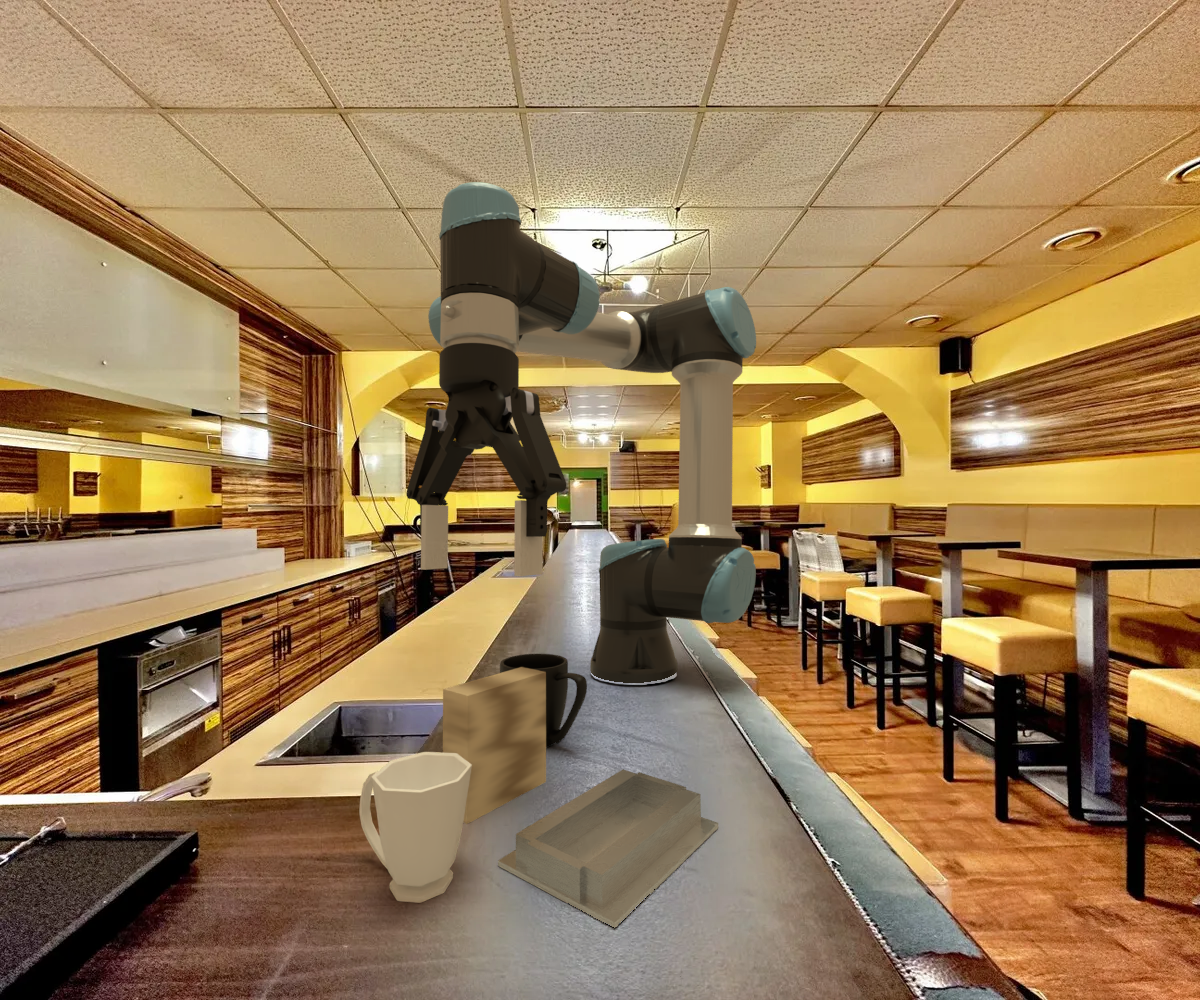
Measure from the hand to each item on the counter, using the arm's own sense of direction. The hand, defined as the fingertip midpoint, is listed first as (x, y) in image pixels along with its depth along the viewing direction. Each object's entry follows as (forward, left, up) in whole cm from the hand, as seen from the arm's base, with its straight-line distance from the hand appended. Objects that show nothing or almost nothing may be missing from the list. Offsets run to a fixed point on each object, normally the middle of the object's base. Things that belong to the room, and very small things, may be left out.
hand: (477, 572), depth 53 cm
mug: (-14, -5, -22) cm, 26 cm away
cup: (+10, +4, -22) cm, 24 cm away
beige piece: (-2, +14, -22) cm, 26 cm away
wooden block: (-2, 0, -22) cm, 22 cm away
